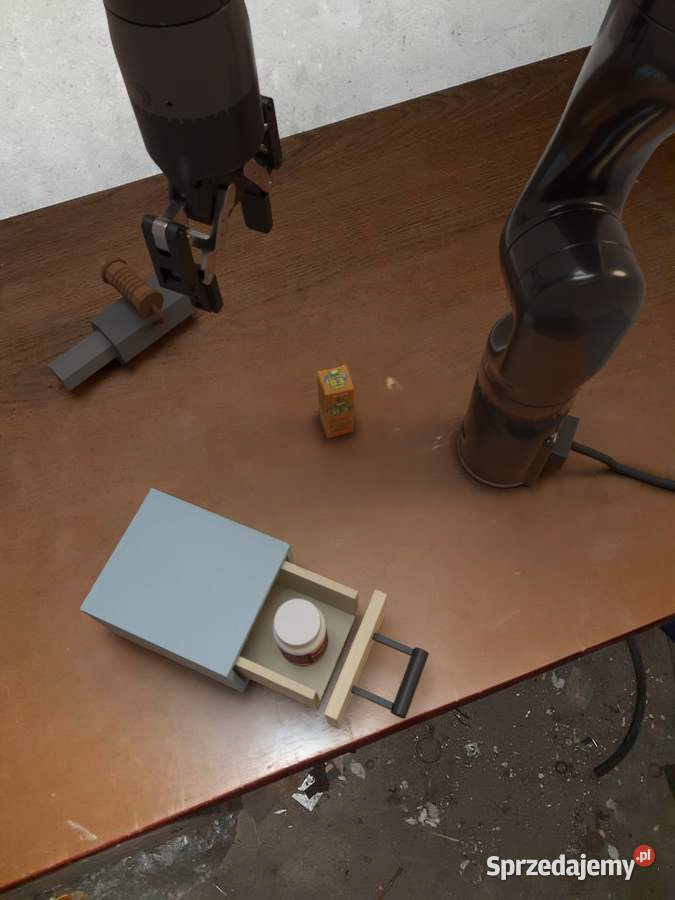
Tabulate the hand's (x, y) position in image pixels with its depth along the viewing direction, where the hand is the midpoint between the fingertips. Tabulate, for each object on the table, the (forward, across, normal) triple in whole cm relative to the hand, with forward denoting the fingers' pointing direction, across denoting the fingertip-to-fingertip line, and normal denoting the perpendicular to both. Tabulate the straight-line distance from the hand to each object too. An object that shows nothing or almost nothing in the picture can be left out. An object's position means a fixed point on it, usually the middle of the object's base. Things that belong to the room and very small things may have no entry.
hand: (235, 266), depth 54 cm
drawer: (+27, -20, -15) cm, 37 cm away
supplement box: (+28, +4, -6) cm, 29 cm away
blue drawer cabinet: (+28, -20, -2) cm, 35 cm away
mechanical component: (+28, +4, +22) cm, 36 cm away
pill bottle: (+26, -20, -13) cm, 35 cm away
